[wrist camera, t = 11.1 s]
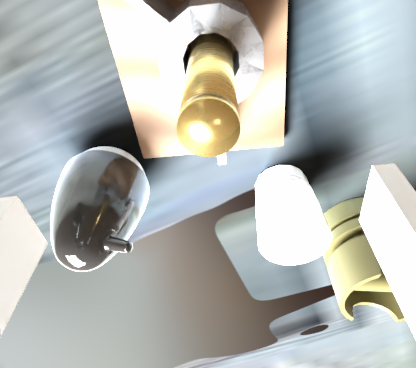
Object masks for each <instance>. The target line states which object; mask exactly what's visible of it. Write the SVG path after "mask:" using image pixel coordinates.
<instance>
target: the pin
mask: <svg viewBox="0 0 416 368" xmlns="http://www.w3.org/2000/svg"><path fill="white" fill-rule="evenodd" d="M176 130H177V136H178V138H179V141H180V142H181V144H182V145H183V146H184V147H185V148H186V149H187V150H188V151H190V152H191V153H193V154H196V155H199V156H203V157H214V156H219V155H222V154H224V153H226V152H228V151H229V150H230V149H231V148H233V146H234V145H235V144H236V142H237V141H238V139H239V136H240V120H239V112H238V103H237V95H236V86H235V77H234V69H233V60H232V52H231V43H230V39H228V38H226V37H224V36H222V35H220V34H218V33H208V34H200V35H199V36H197V37H196V38H195V39H194V40H193V41H192V46H191V51H190V57H189V62H188V67H187V73H186V78H185V83H184V89H183V94H182V99H181V105H180V110H179V115H178V121H177V127H176Z"/></svg>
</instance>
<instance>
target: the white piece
mask: <svg viewBox="0 0 416 368" xmlns="http://www.w3.org/2000/svg"><path fill="white" fill-rule="evenodd" d="M125 1H126V2H127V3H128V4H130V5H131V6H132V7H133V8H135V9H136V10H137V11H138V12H140V13H141V14H142V15H143V16H145V17H146V18H147V19H148V20H150V21H151V22H152V23H153V24H155V25H156V26H157V27H158V28H160V29H161V30H162V31H164V34H163V37H162V40H161V44H160V47H159V50H158V52H157V58H158V63H159V67H160V72H161V77H162V82H163V83H164V84H165V86H166V87H167V88H168V89H169V90H170V92H171V93H172V94H173V95H174V96H175V97H176V99H177V100H178V101H179V102H180V103H181V99H182V94H183V89H184V83H185V78H186V73H187V67H188V62H189V57H190V56H189V55H188V48H187V45H188V44H189V43H190V42H191V41H192V40H194V39H195V38H196V37H197V36H199V35H200V34H208V33H218V34H220V35H222V36H224V37H226V38H228V39H230V40H231V42H232V43H233V45H234V46H235V48H236V51H235V53H234V55H233V57H232V60H233V69H234V77H235V86H236V95H237V103H240V102H241V101H243V100H244V99H246V98H247V97H249V96H251V94H252V92H253V90H254V88H255V87H256V85H257V83H258V81H259V79H260V77H261V75H262V74H263V72H264V42H263V39H262V37H261V34H260V31H259V29H258V26H257V25H256V23H255V22H254V20H253V18H252V17H251V15H250V13H249V12H248V10H247V8H246V7H245V5H244V3H242V2H240V1H238V0H186V1H185V2H184V3H183V4H181V5H180V6H179V7H178V8H177V9H175V8H174V7H173V6H171V5H170V4H169V3H168V2H167V1H166V0H125ZM217 157H218V165H223V164H226V153H224V154H222V155H219V156H217Z"/></svg>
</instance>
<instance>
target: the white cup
mask: <svg viewBox="0 0 416 368" xmlns="http://www.w3.org/2000/svg"><path fill="white" fill-rule="evenodd" d="M255 191H256V202H255V207H256V224H257V237H258V248H259V251H260V253H261V254H262V255H263V256H264V257H265V258H266V259H268V260H269V261H272V262H274V263H277V264H282V265H298V264H303V263H307V262H310V261H312V260H314V259H316V258H318V257H320V256H321V255H322V254H324V253H325V252H326V251H327V249H328V248H329V246H330V244H331V242H332V233H331V230H330V228H329V225H328V223H327V221H326V219H325V216H324V214H323V212H322V209H321V207H320V205H319V202H318V200H317V198H316V196H315V194H314V192H313V190H312V188H311V186H310V185H309V182H308V180H307V178H306V176H305V175H304V173H303V172H302V171H301V170H300V169H298V168H296V167H294V166H292V165H276V166H273V167H270V168H268V169H266V170H265V171H264V172H263V173H262V174H260V175H259V177H258V179H257V181H256V183H255Z"/></svg>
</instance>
